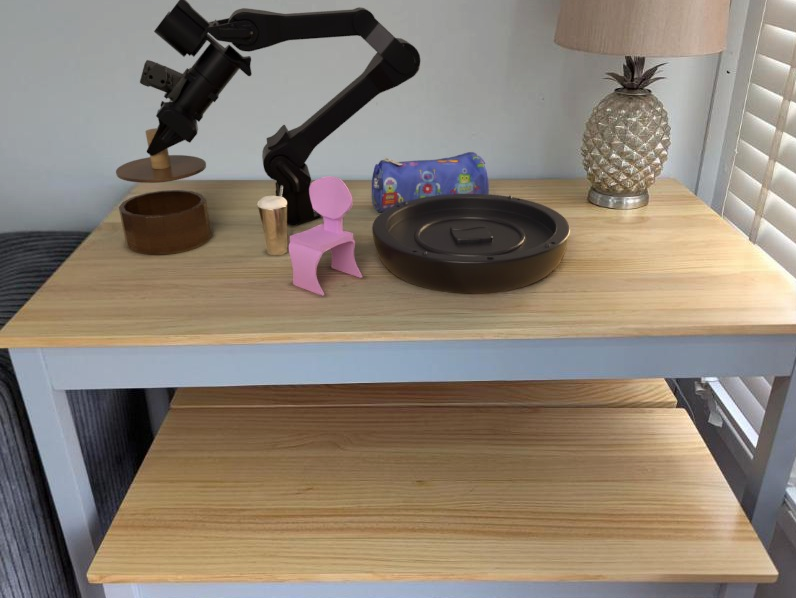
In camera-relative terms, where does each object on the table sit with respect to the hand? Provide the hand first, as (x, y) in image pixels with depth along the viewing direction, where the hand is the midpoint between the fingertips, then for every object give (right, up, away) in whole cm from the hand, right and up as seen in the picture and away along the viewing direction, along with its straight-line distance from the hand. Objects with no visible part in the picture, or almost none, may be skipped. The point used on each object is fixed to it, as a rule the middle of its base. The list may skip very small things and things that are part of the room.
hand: (149, 151), depth 128 cm
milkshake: (+22, -17, -3) cm, 28 cm away
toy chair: (+31, -23, -14) cm, 41 cm away
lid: (+1, -3, +2) cm, 3 cm away
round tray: (+52, -19, -7) cm, 56 cm away
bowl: (+3, -14, +2) cm, 15 cm away
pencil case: (+47, -7, +15) cm, 49 cm away
